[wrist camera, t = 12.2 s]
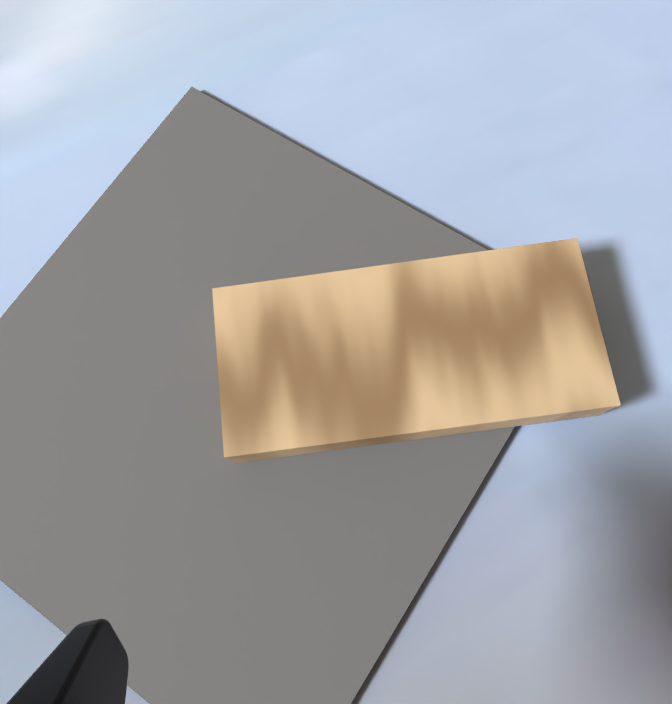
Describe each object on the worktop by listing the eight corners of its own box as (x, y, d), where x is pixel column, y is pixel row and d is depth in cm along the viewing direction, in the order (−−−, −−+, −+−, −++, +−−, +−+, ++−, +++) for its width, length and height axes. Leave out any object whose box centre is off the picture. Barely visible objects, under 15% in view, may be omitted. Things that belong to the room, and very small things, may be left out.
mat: (583, 308, 23) (586, 304, 22) (286, 809, 19) (284, 815, 18) (194, 92, 26) (191, 86, 26) (-120, 474, 22) (-129, 473, 22)
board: (238, 462, 21) (596, 416, 21) (223, 457, 19) (620, 405, 19) (226, 308, 23) (559, 262, 23) (212, 288, 21) (577, 238, 21)
